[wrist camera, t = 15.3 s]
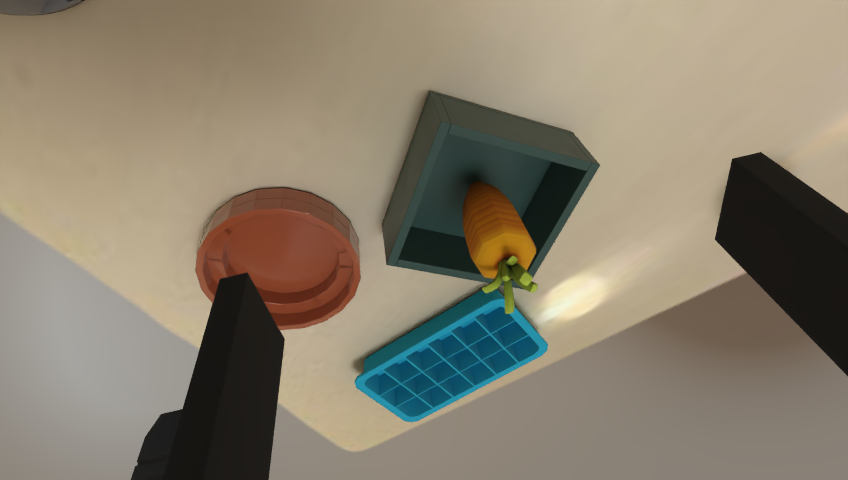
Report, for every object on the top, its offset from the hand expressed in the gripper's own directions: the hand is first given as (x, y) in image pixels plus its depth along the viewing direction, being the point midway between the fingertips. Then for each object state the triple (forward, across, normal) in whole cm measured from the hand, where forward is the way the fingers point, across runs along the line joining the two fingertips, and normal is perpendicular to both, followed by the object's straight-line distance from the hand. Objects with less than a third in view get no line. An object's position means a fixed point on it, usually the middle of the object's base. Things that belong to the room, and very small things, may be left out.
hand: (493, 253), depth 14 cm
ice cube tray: (+29, -2, -38) cm, 47 cm away
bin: (+29, +4, -16) cm, 33 cm away
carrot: (+28, +4, -16) cm, 33 cm away
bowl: (+29, -16, -19) cm, 38 cm away
